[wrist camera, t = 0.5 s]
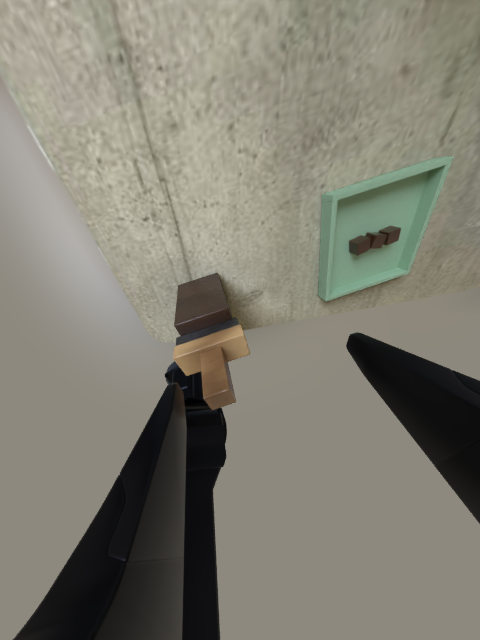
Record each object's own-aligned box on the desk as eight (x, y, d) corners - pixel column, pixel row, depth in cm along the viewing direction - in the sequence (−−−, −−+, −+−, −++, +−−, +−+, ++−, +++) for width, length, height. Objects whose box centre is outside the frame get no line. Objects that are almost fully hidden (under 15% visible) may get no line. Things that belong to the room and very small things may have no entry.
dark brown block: (228, 305, 25) (241, 344, 19) (194, 316, 25) (196, 360, 19) (217, 272, 22) (228, 307, 16) (177, 285, 22) (173, 325, 16)
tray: (397, 268, 28) (409, 273, 27) (317, 295, 28) (325, 302, 26) (434, 157, 20) (454, 155, 18) (322, 194, 20) (333, 195, 18)
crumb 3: (387, 237, 24) (398, 240, 23) (376, 242, 24) (386, 245, 23) (390, 225, 23) (401, 227, 22) (378, 230, 23) (389, 232, 22)
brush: (237, 315, 17) (259, 375, 11) (243, 335, 18) (265, 395, 13) (174, 337, 16) (168, 407, 11) (186, 355, 18) (185, 423, 13)
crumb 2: (371, 245, 24) (381, 248, 23) (361, 245, 24) (370, 249, 23) (376, 232, 23) (387, 234, 22) (366, 232, 23) (376, 235, 22)
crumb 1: (360, 246, 24) (369, 250, 23) (349, 252, 24) (357, 256, 23) (360, 234, 23) (370, 237, 22) (348, 240, 23) (357, 244, 22)
